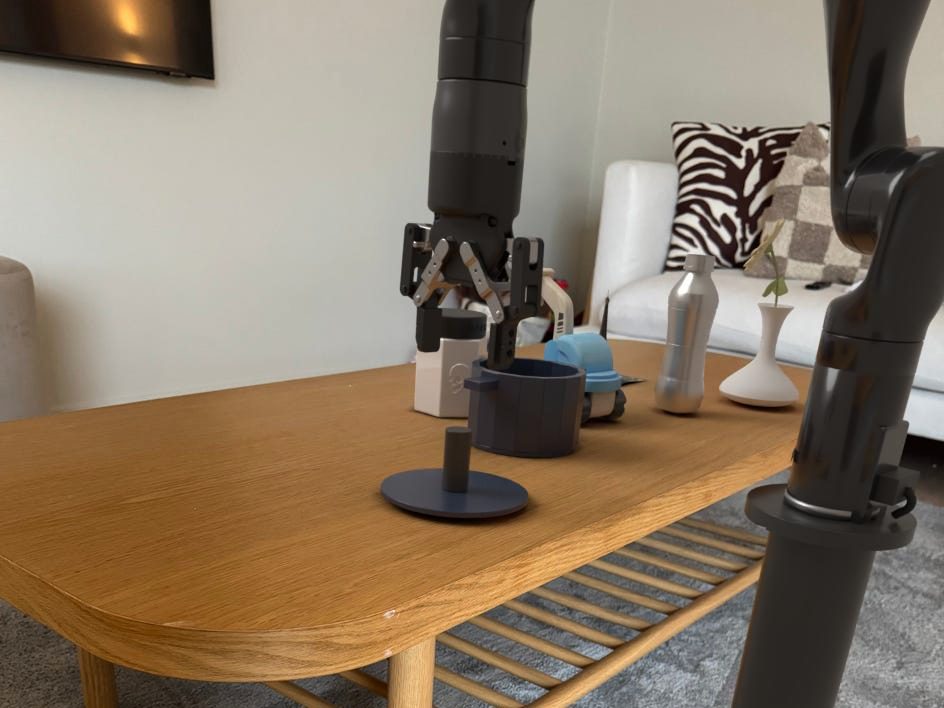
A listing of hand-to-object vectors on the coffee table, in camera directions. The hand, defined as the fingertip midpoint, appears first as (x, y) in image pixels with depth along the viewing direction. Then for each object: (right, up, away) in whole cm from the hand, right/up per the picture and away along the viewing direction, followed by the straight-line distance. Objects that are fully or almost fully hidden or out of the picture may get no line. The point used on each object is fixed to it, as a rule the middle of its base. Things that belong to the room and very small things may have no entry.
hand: (462, 360), depth 83 cm
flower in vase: (+42, +10, +57) cm, 72 cm away
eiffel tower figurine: (+20, +16, +66) cm, 70 cm away
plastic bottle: (+29, +7, +48) cm, 57 cm away
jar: (-2, +5, +39) cm, 40 cm away
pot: (+7, -2, +27) cm, 28 cm away
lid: (-1, -11, +5) cm, 12 cm away
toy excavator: (+13, +6, +43) cm, 45 cm away
